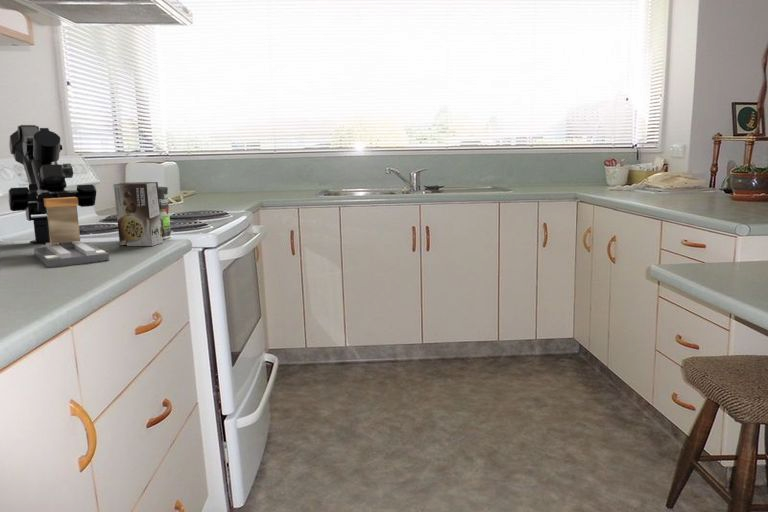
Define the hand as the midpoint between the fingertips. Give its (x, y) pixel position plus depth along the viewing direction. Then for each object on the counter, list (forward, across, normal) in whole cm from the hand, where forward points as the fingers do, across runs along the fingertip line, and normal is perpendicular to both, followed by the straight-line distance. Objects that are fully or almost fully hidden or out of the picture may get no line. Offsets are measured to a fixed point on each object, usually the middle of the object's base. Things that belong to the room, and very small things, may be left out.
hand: (60, 223), depth 144 cm
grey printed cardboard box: (+5, +18, +6) cm, 20 cm away
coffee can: (-2, +24, +12) cm, 27 cm away
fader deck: (+11, 0, -1) cm, 11 cm away
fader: (+6, 0, +1) cm, 6 cm away
